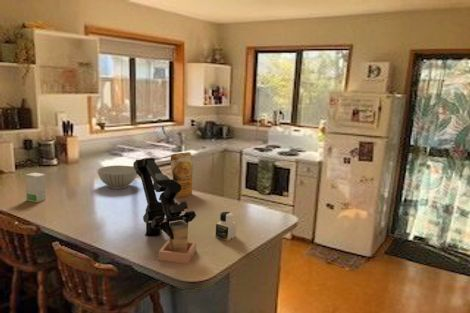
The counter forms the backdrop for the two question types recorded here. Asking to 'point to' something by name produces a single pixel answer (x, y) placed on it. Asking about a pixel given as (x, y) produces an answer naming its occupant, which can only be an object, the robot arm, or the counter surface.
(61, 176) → the counter surface
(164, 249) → the pink square tray
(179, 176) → the pancake mix bag
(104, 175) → the decorative bowl
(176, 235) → the brown rectangular block
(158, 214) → the robot arm
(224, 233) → the medicine bottle
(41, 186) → the skincare box
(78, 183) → the counter surface
